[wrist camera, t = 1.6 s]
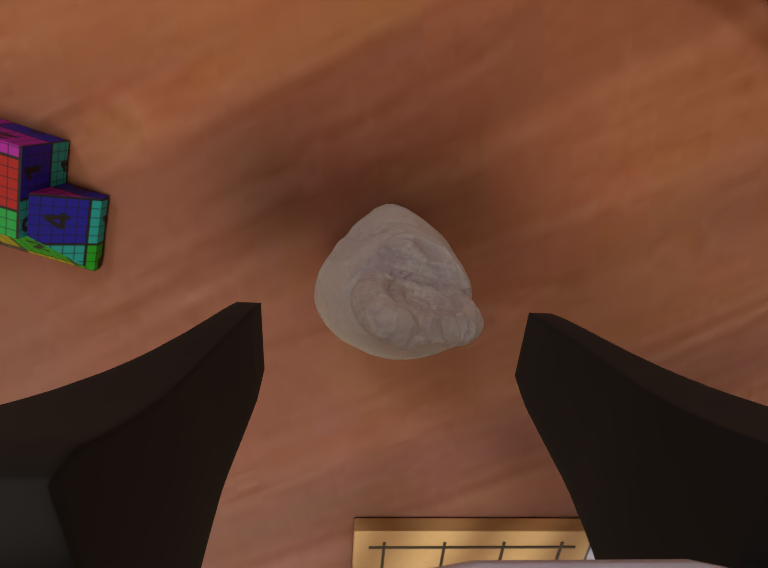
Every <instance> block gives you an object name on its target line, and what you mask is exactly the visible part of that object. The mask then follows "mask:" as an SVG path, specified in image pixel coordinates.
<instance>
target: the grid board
mask: <svg viewBox="0 0 768 568" xmlns="http://www.w3.org/2000/svg"><path fill="white" fill-rule="evenodd" d="M588 547H589V541H588V538H587V536H586V533H585V530H584V528H583V525H582V523H581V520H580V518H355V519H354V534H353V552H352V568H433V567H439V566H444V565H450V564H456V563H461V562H467V561H473V560H584V557H585V555H586V552H587V549H588Z"/></svg>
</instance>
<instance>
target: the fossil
mask: <svg viewBox="0 0 768 568" xmlns="http://www.w3.org/2000/svg"><path fill="white" fill-rule="evenodd" d="M314 295H315V305H316V309H317V311H318V314H319V315H320V316H321V317H322V320H323V322H324V323H325V324H326V326H327V327H328V328H329V329H330V330H331V331H332V332H333V333H334V334H335V335H336V336H337V337H338V338H339V339H341V340H342V341H344V342H346V343H348V344H349V345H351V346H353V347H355V348H357V349H360V350H362V351H363V352H365V353H368V354H370V355H375V356H378V357H381V358H385V359H415V358H421V357H426V356H430V355H435V354H438V353H440V352H442V351H445V350H447V349H449V348H452V347H456V346H463V345H467V344H469V343H471V342H472V341H474V340H475V339H477V338H478V337H479V335H480V333H481V331H482V329H483V325H484V320H483V318H482V315H481V313H480V310H479V309H478V307H477V306H476V305H475V303H474V302H473V301H472V300H471V298H472V290H471V283H470V281H469V278H468V276H467V274H466V271H465V269H464V267H463V265H462V264H461V262H460V261H459V260H458V258H457V257H456V255H455V253H454V252H453V250H452V248H451V247H450V245H449V244H448V242H447V241H446V239H445V238H444V237H443V236H442V235H441V234H440V233H439V232H438V231H437V230H436V229H434V228H433V227H432V226H431V225H429V224H428V223H427V222H426V221H425V220H423V219H422V218H421V217H419V216H418V215H416V214H414V213H413V212H411V211H410V210H408V209H407V208H404V207H402V206H399V205H395V204H385V205H382V206H379V207H377V208H375V209H373V210H372V211H371V212H370V213H368V214H367V215H366V216H365V217H364V218H362V219H361V220H359V221H358V222H357V223H356V224H355V225H354V226H353V227H352V228H351V229H350V231H349V232H348V234H347V235H346V236H345V237H344V238H342V239H340V241H339V242H338V243H337V245H336V246H335V247H334V249H333V250H332V252H331V253H330V255H329V256H328V258H327V259H326V261H325V262H324V264H323V265H322V267H321V269H320V271H319V274H318V277H317V280H316V284H315V292H314Z"/></svg>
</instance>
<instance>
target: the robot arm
mask: <svg viewBox="0 0 768 568" xmlns="http://www.w3.org/2000/svg"><path fill="white" fill-rule="evenodd" d="M263 373H264V353H263V335H262V317H261V303H247V302H236V303H234V304H232V305H230V306H228V307H227V308H225V309H223V310H222V311H220V312H218V313H217V314H215V315H213V316H212V317H210V318H209V319H207V320H205V321H204V322H202V323H200V324H199V325H197V326H195V327H194V328H192V329H190V330H189V331H187V332H185V333H183V334H182V335H180V336H178V337H176V338H174V339H172V340H171V341H169V342H167V343H165V344H163V345H161V346H160V347H158V348H156V349H154V350H152V351H150V352H148V353H146V354H144V355H142V356H140V357H138V358H135V359H133V360H131V361H129V362H126V363H124V364H122V365H119V366H117V367H115V368H112V369H110V370H107V371H105V372H102V373H100V374H97V375H94V376H91V377H88V378H86V379H83V380H80V381H77V382H74V383H71V384H69V385H66V386H63V387H60V388H57V389H54V390H51V391H48V392H44V393H41V394H38V395H34V396H31V397H28V398H24V399H21V400H17V401H13V402H9V403H6V404H2V405H0V568H201V565H202V562H203V558H204V554H205V550H206V546H207V543H208V539H209V535H210V531H211V528H212V524H213V521H214V517H215V513H216V510H217V506H218V503H219V499H220V496H221V492H222V489H223V486H224V484H225V481H226V478H227V475H228V472H229V470H230V467H231V465H232V462H233V460H234V457H235V455H236V452H237V450H238V447H239V445H240V442H241V440H242V437H243V435H244V432H245V430H246V427H247V425H248V422H249V420H250V417H251V414H252V412H253V409H254V407H255V404H256V401H257V398H258V394H259V390H260V386H261V381H262V377H263ZM515 377H516V380H517V383H518V386H519V390H520V393H521V395H522V398H523V401H524V404H525V406H526V408H527V411H528V413H529V415H530V417H531V419H532V420H533V422H534V424H535V426H536V428H537V430H538V432H539V434H540V436H541V438H542V440H543V442H544V444H545V446H546V447H547V449H548V451H549V453H550V455H551V457H552V459H553V461H554V463H555V465H556V467H557V468H558V470H559V472H560V474H561V476H562V478H563V480H564V482H565V484H566V487H567V489H568V491H569V493H570V495H571V498H572V500H573V503H574V505H575V508H576V510H577V513H578V515H579V518H580V520H581V523H582V525H583V528H584V530H585V533H586V536H587V538H588V541H589V547H588V549H587V552H586V555H585V557H584V560H473V561H467V562H461V563H456V564H450V565H444V566H439V567H433V568H768V406H765V405H761V404H758V403H755V402H752V401H749V400H746V399H743V398H740V397H737V396H734V395H731V394H728V393H725V392H722V391H719V390H717V389H714V388H711V387H708V386H706V385H703V384H701V383H698V382H696V381H693V380H691V379H688V378H686V377H683V376H681V375H678V374H676V373H673V372H671V371H669V370H666V369H664V368H662V367H660V366H658V365H655V364H653V363H651V362H649V361H647V360H645V359H643V358H640V357H638V356H636V355H634V354H632V353H630V352H628V351H626V350H624V349H622V348H620V347H618V346H616V345H614V344H612V343H611V342H609V341H607V340H605V339H603V338H601V337H599V336H597V335H595V334H593V333H591V332H589V331H588V330H586V329H584V328H582V327H580V326H578V325H576V324H574V323H572V322H570V321H568V320H566V319H563V318H561V317H559V316H556V315H553V314H547V313H529V316H528V320H527V325H526V329H525V333H524V338H523V342H522V347H521V351H520V355H519V360H518V364H517V369H516V373H515Z"/></svg>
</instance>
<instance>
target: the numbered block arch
mask: <svg viewBox="0 0 768 568" xmlns="http://www.w3.org/2000/svg"><path fill="white" fill-rule="evenodd" d="M68 148H69V141H67V140H64V139H61V138H58V137H55V136H52V135H48V134H45V133H42V132H39V131H36V130H33V129H30V128H27V127H24V126H21V125H18V124H15V123H12V122H9V121H6V120H3V119H0V245H4V246H7V247H11V248H15V249H18V250H22V251H25V252H29V253H32V254H36V255H39V256H43V257H46V258H50V259H53V260H57V261H60V262H64V263H67V264H71V265H75V266H78V267H82V268H85V269H89V270H92V271H96V270H98V269H99V268H100V266H101V258H102V249H103V240H104V232H105V223H106V215H107V206H108V198H109V196H106V195H102V194H99V193H96V192H93V191H90V190H86V189H83V188H80V187H77V186H74V185H70V184H67V183H66V173H67V160H68Z"/></svg>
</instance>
